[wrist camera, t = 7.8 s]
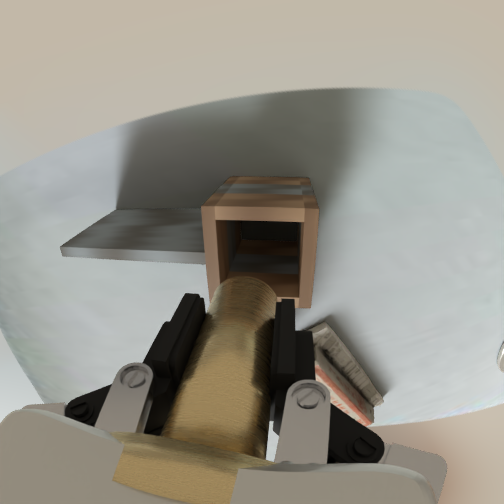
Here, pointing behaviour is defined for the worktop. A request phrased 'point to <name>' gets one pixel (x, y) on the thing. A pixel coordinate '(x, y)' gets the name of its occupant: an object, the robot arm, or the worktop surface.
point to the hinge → (219, 235)
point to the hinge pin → (212, 404)
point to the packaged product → (343, 376)
